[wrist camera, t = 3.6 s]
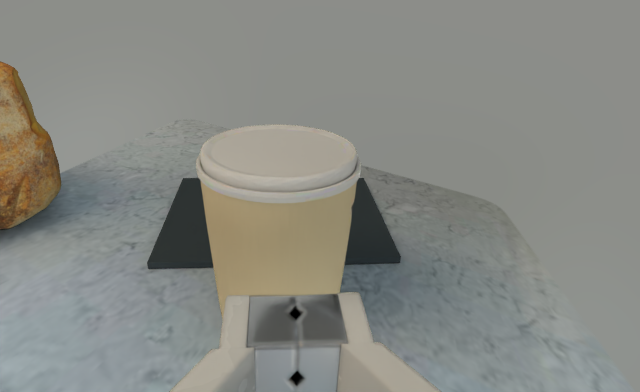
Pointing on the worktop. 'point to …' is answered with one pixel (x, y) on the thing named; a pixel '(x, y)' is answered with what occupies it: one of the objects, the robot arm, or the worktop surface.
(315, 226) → the coffee cup
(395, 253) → the slate mat
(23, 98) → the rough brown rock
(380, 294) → the worktop surface
